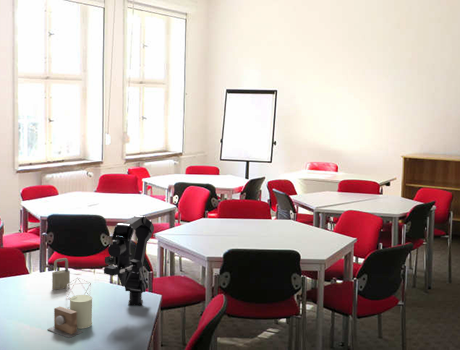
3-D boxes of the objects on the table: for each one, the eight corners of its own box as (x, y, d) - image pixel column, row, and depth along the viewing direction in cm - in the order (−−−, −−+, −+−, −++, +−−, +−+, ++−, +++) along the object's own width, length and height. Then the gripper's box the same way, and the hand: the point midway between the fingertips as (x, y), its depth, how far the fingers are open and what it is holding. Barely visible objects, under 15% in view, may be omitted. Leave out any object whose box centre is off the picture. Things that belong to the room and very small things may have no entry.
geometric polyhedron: (91, 303, 272) (91, 284, 271) (67, 305, 269) (67, 285, 268) (89, 294, 284) (89, 276, 283) (66, 296, 281) (66, 278, 280)
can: (70, 321, 250) (70, 294, 248) (92, 320, 252) (92, 293, 250) (69, 329, 241) (69, 301, 239) (92, 328, 243) (92, 300, 241)
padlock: (51, 288, 292) (51, 259, 290) (66, 285, 297) (66, 256, 295) (55, 290, 289) (55, 260, 287) (70, 287, 294) (70, 258, 292)
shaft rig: (62, 324, 246) (62, 303, 245) (83, 331, 239) (84, 310, 238) (47, 330, 239) (47, 309, 238) (69, 338, 232) (69, 316, 231)
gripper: (125, 245, 268) (124, 277, 270) (95, 252, 253) (94, 287, 255) (143, 248, 262) (142, 282, 264) (113, 256, 247) (113, 292, 249)
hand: (123, 286), depth 258 cm, fingers closed
